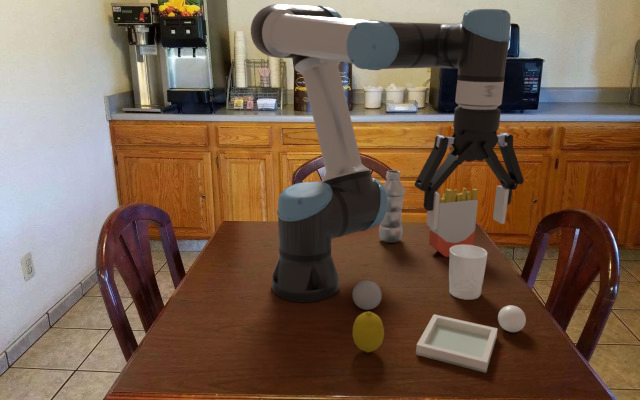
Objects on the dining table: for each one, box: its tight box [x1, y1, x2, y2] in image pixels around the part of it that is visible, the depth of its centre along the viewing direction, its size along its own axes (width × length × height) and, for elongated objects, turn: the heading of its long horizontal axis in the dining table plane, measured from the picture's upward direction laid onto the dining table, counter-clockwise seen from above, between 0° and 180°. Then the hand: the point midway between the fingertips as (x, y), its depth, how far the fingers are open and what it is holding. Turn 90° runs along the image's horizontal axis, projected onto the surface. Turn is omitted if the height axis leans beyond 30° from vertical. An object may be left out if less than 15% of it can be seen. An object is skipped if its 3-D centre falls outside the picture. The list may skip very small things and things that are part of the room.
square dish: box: [415, 314, 498, 374], centre depth 93 cm, size 12×12×2 cm
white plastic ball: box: [497, 304, 527, 333], centre depth 97 cm, size 5×5×5 cm
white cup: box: [448, 245, 488, 301], centre depth 112 cm, size 8×8×10 cm
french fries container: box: [428, 187, 479, 258], centre depth 133 cm, size 5×11×18 cm, turn 107°
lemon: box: [352, 310, 385, 354], centre depth 90 cm, size 6×6×8 cm
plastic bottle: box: [378, 169, 406, 243], centre depth 141 cm, size 6×7×20 cm
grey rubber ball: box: [351, 279, 383, 311], centre depth 106 cm, size 6×6×6 cm
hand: (465, 224), depth 93 cm, fingers open, 13 cm apart
